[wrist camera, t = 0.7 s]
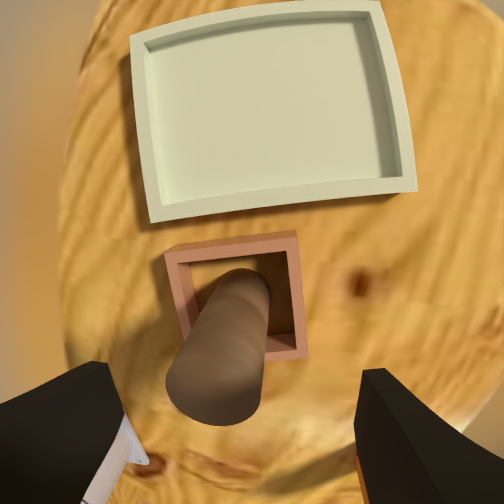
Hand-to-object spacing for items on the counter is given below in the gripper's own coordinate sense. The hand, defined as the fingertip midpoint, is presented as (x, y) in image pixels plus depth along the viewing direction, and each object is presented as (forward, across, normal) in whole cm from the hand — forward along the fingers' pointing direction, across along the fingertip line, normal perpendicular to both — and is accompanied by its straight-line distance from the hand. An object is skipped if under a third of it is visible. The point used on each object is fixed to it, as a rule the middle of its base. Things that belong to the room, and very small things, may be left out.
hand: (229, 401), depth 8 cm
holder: (+10, +1, +1) cm, 10 cm away
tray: (+10, -1, -10) cm, 14 cm away
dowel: (+10, +1, +1) cm, 10 cm away
